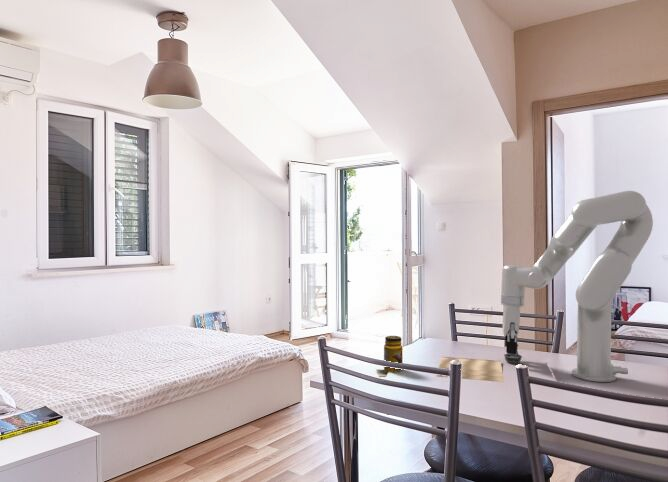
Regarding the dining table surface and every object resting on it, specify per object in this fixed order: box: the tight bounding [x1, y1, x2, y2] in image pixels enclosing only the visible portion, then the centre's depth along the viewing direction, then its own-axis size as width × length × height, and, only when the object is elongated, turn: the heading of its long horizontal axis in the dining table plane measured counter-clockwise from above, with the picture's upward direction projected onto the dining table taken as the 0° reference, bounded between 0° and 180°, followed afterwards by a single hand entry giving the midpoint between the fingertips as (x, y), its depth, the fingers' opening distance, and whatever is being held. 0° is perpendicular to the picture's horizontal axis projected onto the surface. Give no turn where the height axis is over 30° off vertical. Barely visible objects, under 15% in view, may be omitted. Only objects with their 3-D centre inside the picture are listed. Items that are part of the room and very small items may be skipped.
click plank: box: [438, 356, 503, 374], centre depth 167 cm, size 20×12×1 cm, turn 73°
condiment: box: [375, 335, 403, 377], centre depth 161 cm, size 7×8×12 cm
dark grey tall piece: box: [503, 335, 523, 365], centre depth 170 cm, size 6×6×12 cm
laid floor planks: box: [435, 368, 504, 383], centre depth 156 cm, size 20×10×1 cm, turn 73°
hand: (510, 349), depth 171 cm, fingers open, 9 cm apart
